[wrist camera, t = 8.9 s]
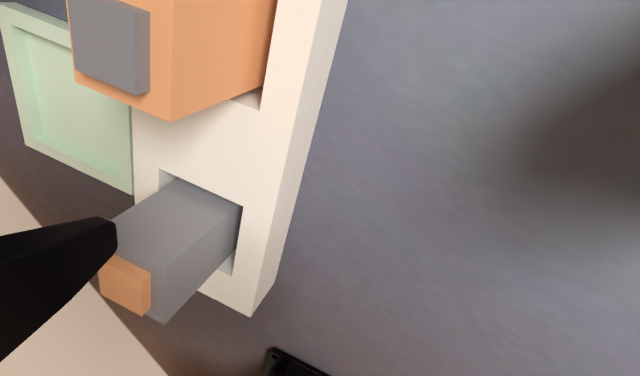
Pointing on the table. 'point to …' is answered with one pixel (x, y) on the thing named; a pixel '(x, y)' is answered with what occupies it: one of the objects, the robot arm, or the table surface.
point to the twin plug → (169, 248)
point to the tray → (64, 100)
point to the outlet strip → (250, 147)
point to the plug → (171, 50)
